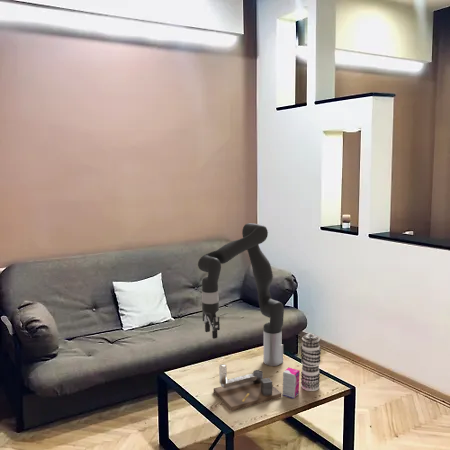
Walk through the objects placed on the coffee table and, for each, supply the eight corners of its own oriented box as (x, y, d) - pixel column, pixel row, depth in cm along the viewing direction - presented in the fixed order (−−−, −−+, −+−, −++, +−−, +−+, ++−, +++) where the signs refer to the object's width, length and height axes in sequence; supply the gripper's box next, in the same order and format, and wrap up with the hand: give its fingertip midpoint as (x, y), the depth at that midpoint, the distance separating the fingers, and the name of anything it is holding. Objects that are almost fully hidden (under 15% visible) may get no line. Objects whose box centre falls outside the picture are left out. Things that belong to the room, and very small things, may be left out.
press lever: (259, 377, 234) (259, 354, 232) (264, 381, 230) (264, 358, 228) (217, 388, 225) (217, 364, 223) (222, 392, 221) (221, 368, 219)
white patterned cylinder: (307, 393, 224) (308, 341, 220) (296, 384, 233) (296, 333, 228) (324, 388, 228) (325, 337, 224) (312, 380, 236) (313, 330, 232)
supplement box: (294, 399, 219) (294, 375, 217) (282, 395, 222) (282, 371, 221) (299, 393, 224) (299, 369, 222) (287, 390, 227) (287, 366, 225)
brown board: (261, 380, 237) (261, 364, 236) (281, 397, 221) (281, 380, 220) (213, 392, 226) (213, 376, 225) (231, 411, 210) (231, 393, 209)
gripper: (224, 303, 216) (225, 339, 219) (211, 294, 229) (212, 328, 232) (208, 306, 213) (209, 342, 216) (196, 297, 226) (197, 331, 229)
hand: (211, 334), depth 224 cm, fingers open, 8 cm apart
